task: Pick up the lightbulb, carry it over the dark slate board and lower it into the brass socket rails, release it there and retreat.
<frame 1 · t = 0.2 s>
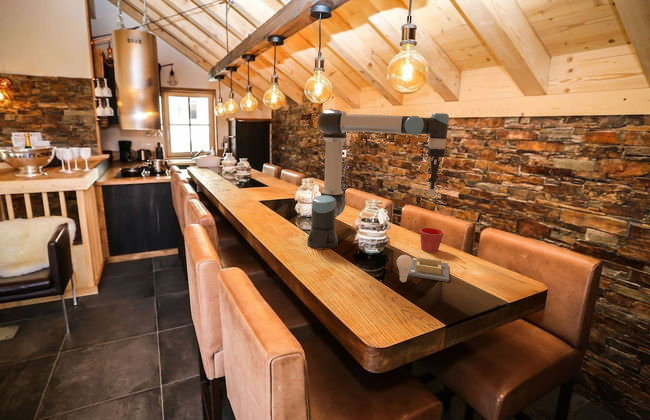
hand: (431, 193, 168), 28 cm above the table, fingers open, 13 cm apart
flower pot: (429, 250, 174), on the table
board: (428, 270, 149), on the table
lightbulb: (402, 282, 137), on the table
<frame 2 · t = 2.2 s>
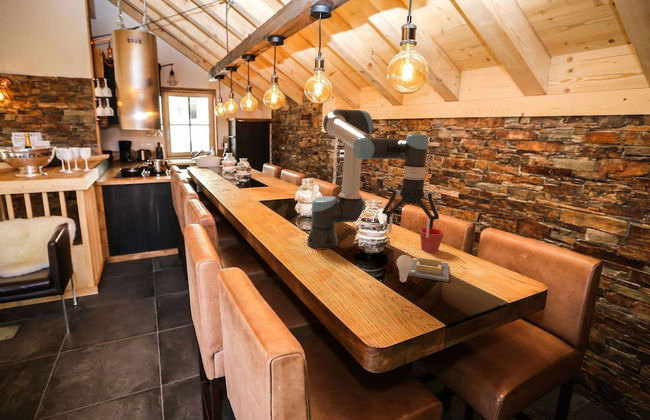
hand: (408, 234, 133), 19 cm above the table, fingers open, 13 cm apart
nothing on the table moved.
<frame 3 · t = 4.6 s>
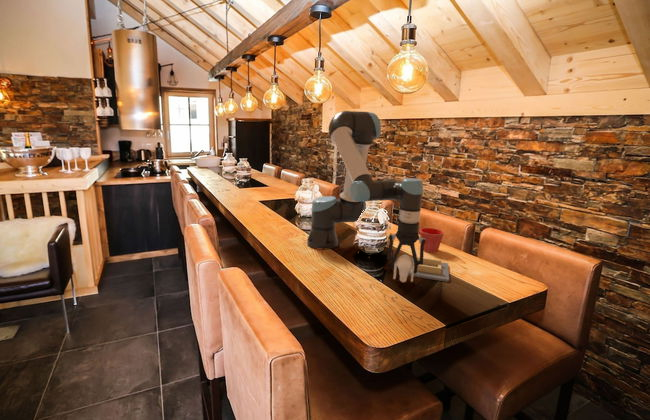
hand: (403, 278, 137), 1 cm above the table, fingers closed on lightbulb, 6 cm apart
lightbulb: (402, 282, 137), on the table, touching gripper
everything else where it was.
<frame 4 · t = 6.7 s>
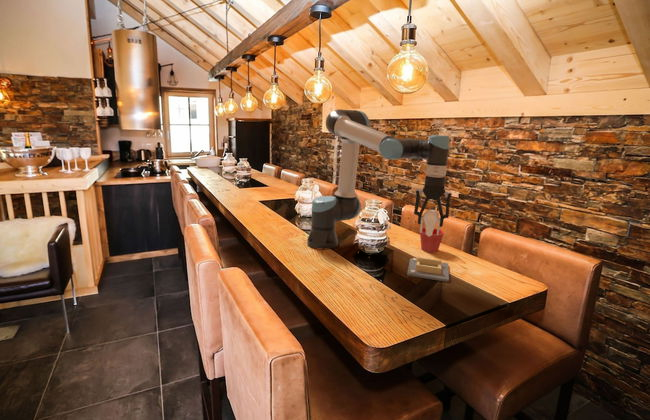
hand: (429, 232, 143), 17 cm above the table, fingers closed on lightbulb, 6 cm apart
lightbulb: (428, 236, 143), point 15 cm above the table, touching gripper
everything else where it was.
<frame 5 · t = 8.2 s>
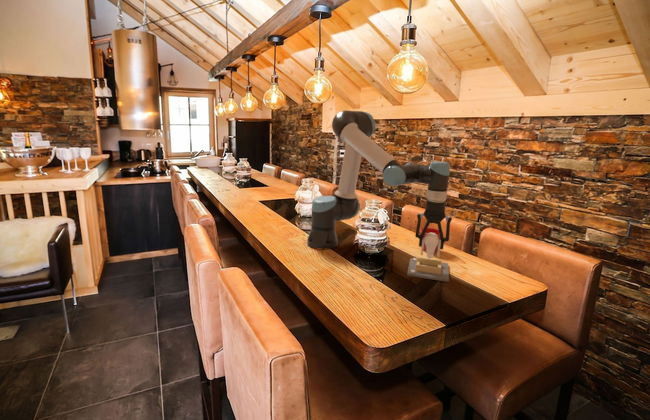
hand: (429, 255, 148), 7 cm above the table, fingers closed on lightbulb, 6 cm apart
lightbulb: (429, 258, 148), point 5 cm above the table, touching gripper
everything else where it was.
when the fingers open (4 cm above the table, at t = 9.1 s): lightbulb drops 1 cm, resting on board.
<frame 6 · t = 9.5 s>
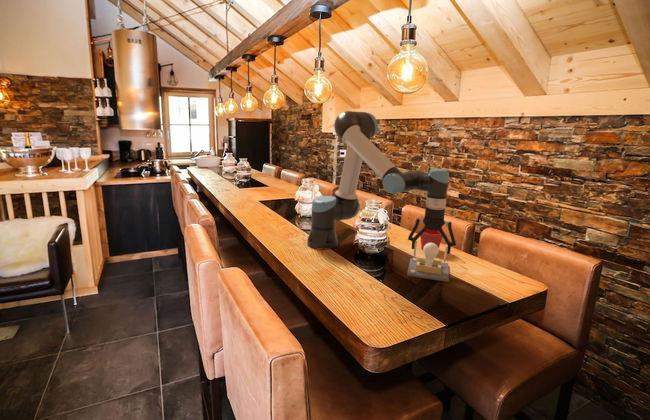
hand: (429, 258, 148), 5 cm above the table, fingers open, 11 cm apart
lightbulb: (427, 268, 149), point 1 cm above the table, touching board
everything else where it was.
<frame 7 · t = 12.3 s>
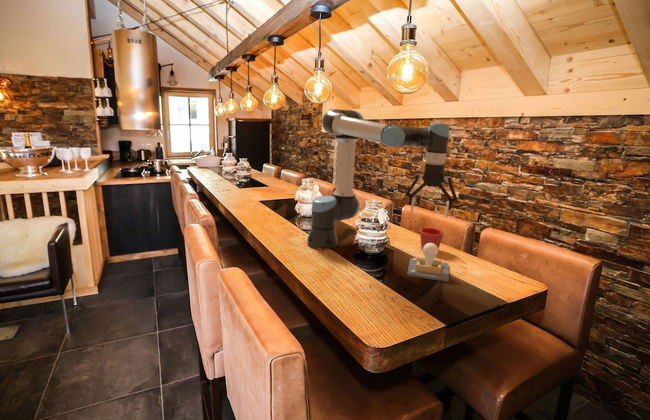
hand: (428, 215, 146), 23 cm above the table, fingers open, 13 cm apart
nothing on the table moved.
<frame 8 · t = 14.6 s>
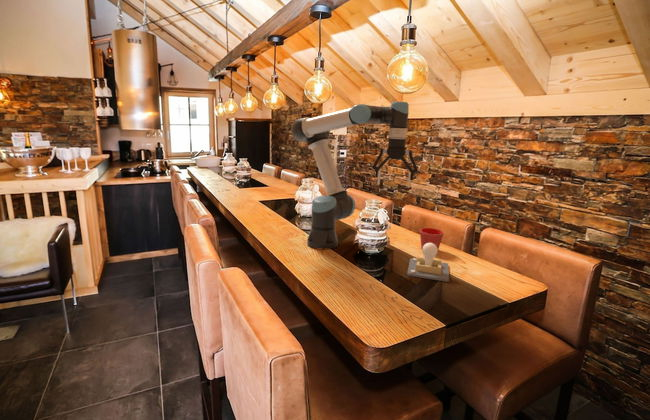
hand: (393, 185, 162), 32 cm above the table, fingers open, 13 cm apart
nothing on the table moved.
at the end: lightbulb 0.2 cm off-centre on the board, point 0.8 cm above the board's base; lightbulb tilted 0°; the gripper is holding nothing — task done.
